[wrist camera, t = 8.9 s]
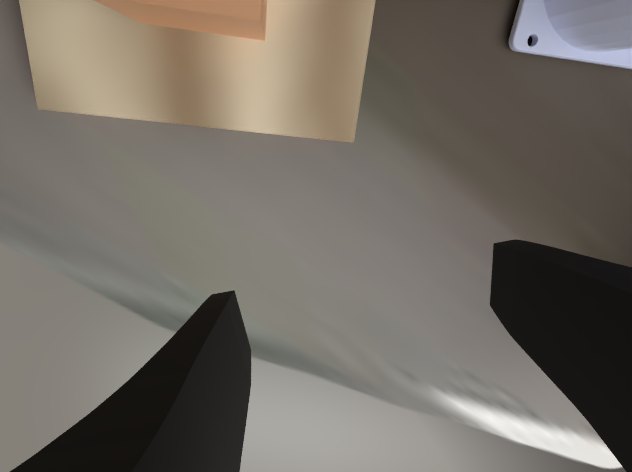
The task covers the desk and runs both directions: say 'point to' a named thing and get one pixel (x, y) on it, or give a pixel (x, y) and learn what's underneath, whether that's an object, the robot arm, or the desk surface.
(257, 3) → the square collar
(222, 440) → the robot arm
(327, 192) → the desk surface
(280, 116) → the post board
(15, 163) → the desk surface
